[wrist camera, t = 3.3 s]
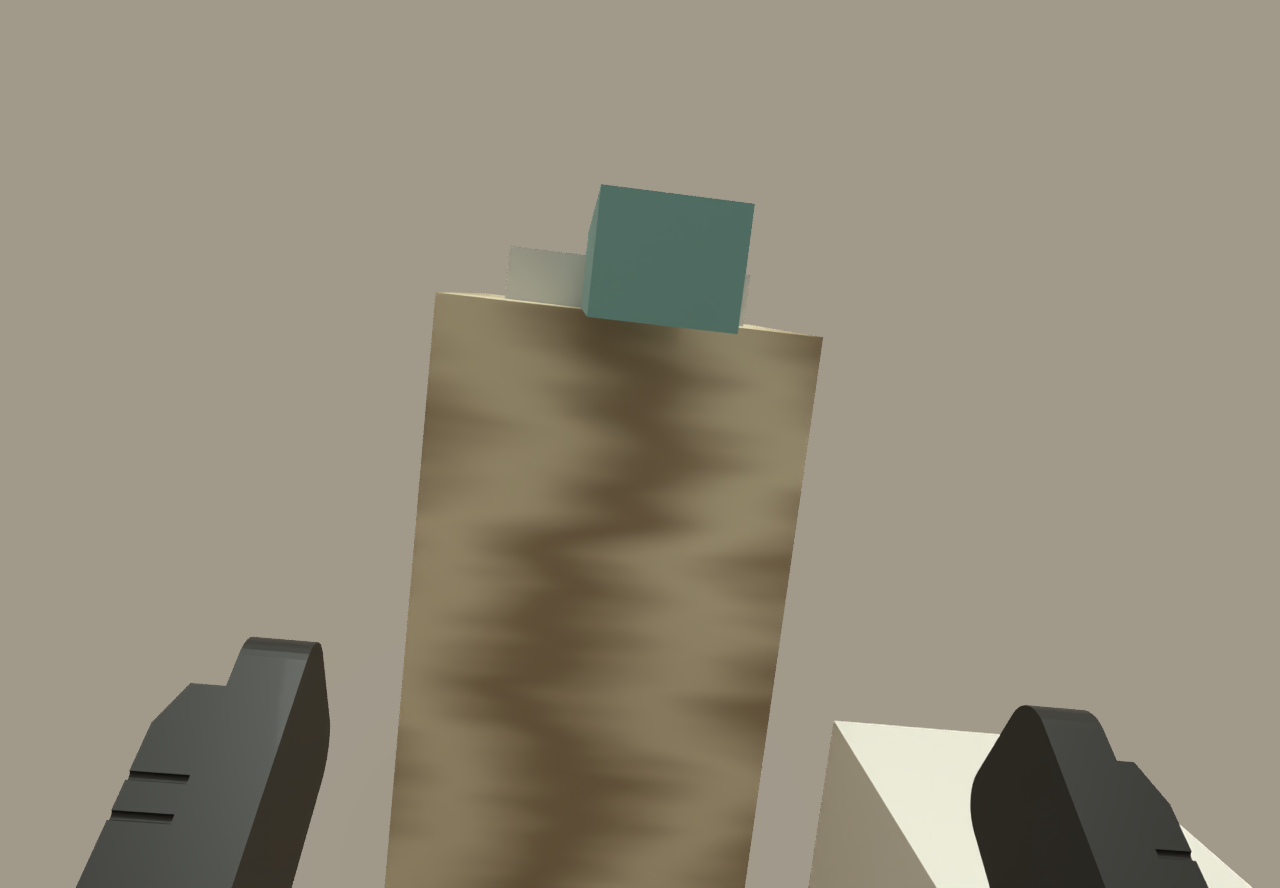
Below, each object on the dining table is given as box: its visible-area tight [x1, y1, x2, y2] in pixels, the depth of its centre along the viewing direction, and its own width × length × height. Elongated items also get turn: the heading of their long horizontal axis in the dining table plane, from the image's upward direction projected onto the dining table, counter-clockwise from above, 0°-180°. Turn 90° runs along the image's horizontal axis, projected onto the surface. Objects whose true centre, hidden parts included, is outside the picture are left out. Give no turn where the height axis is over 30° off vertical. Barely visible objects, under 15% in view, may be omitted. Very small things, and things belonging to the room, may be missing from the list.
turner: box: [505, 185, 755, 334], centre depth 26 cm, size 7×20×2 cm, turn 4°
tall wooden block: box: [385, 292, 823, 888], centre depth 33 cm, size 10×12×32 cm
